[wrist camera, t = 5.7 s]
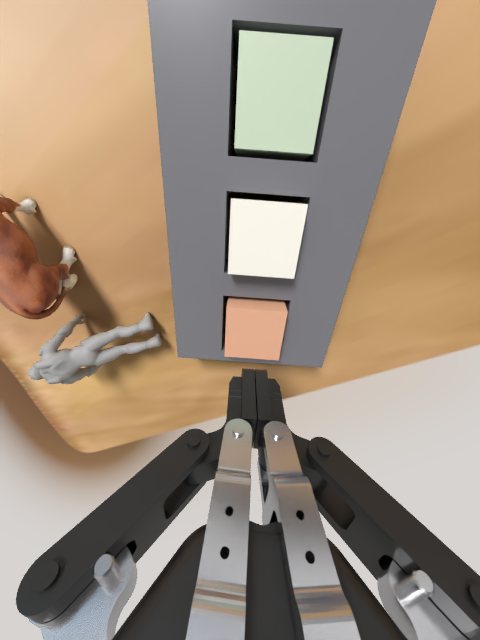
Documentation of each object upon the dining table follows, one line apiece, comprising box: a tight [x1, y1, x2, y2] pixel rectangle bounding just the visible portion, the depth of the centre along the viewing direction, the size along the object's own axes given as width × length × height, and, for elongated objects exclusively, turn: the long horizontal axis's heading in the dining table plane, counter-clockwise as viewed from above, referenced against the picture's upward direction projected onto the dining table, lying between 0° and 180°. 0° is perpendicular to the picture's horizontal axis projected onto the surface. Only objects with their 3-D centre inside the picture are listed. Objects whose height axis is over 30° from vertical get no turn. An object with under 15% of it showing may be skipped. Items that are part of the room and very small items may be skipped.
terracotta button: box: [224, 296, 288, 360], centre depth 20 cm, size 5×5×3 cm
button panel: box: [148, 0, 436, 368], centre depth 18 cm, size 14×23×4 cm, turn 176°
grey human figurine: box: [28, 312, 163, 384], centre depth 24 cm, size 6×5×12 cm
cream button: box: [228, 198, 308, 279], centre depth 16 cm, size 5×5×3 cm
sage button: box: [234, 30, 334, 161], centre depth 14 cm, size 5×5×3 cm
